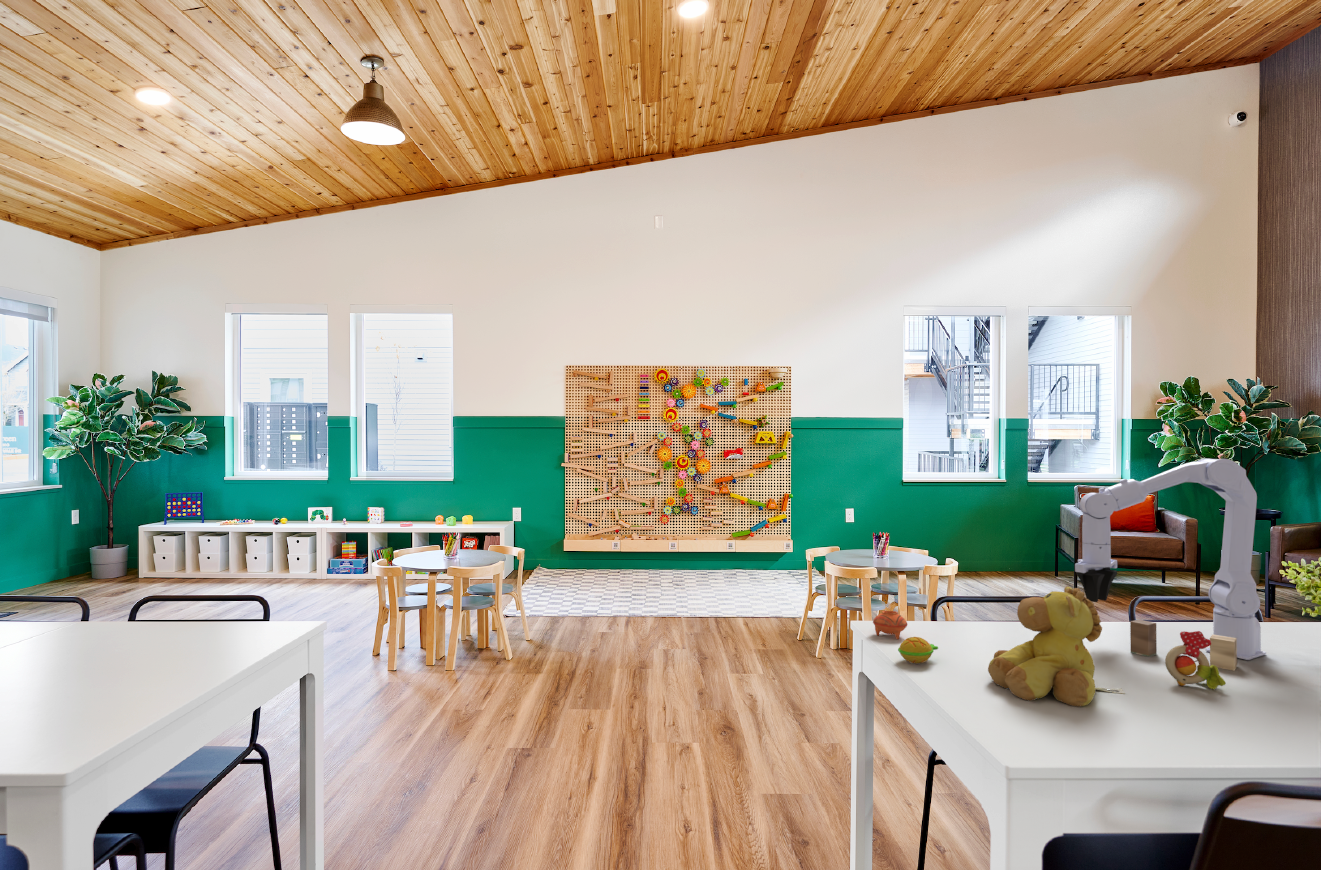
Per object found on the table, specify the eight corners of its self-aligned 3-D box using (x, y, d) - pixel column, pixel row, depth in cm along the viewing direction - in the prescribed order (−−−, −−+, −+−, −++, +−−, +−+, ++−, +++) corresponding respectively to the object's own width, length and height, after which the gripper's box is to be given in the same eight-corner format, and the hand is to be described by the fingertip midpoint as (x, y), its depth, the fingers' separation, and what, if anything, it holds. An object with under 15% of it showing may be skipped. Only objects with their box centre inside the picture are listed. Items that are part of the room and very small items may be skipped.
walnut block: (1138, 650, 157) (1138, 619, 157) (1156, 654, 154) (1156, 622, 154) (1130, 652, 155) (1130, 621, 155) (1148, 656, 152) (1148, 624, 152)
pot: (876, 639, 163) (874, 610, 165) (872, 638, 171) (870, 610, 173) (911, 639, 162) (909, 610, 164) (905, 639, 170) (903, 610, 171)
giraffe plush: (971, 671, 142) (970, 578, 142) (1085, 671, 142) (1085, 578, 142) (1023, 708, 121) (1022, 599, 122) (1157, 709, 121) (1156, 600, 122)
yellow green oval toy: (891, 662, 146) (891, 637, 147) (912, 653, 153) (912, 629, 154) (923, 670, 142) (923, 644, 142) (943, 660, 149) (943, 635, 149)
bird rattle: (1192, 702, 130) (1240, 685, 129) (1165, 647, 131) (1213, 629, 130) (1172, 691, 136) (1218, 674, 135) (1147, 638, 137) (1192, 621, 136)
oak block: (1212, 662, 148) (1212, 634, 149) (1236, 666, 146) (1236, 637, 146) (1210, 666, 146) (1209, 637, 146) (1234, 670, 143) (1234, 641, 143)
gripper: (1095, 539, 171) (1096, 594, 170) (1061, 543, 163) (1062, 600, 163) (1126, 542, 164) (1126, 599, 164) (1092, 546, 157) (1093, 606, 157)
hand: (1096, 600), depth 163 cm, fingers open, 3 cm apart
